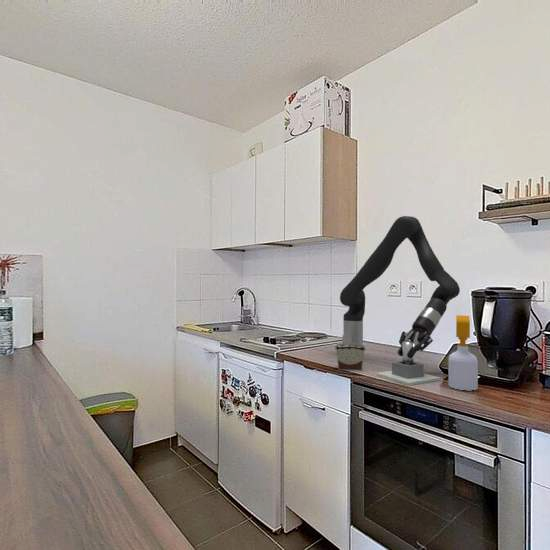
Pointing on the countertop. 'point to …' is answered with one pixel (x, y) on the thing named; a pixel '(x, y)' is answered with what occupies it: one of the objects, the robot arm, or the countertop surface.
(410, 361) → the steel tube
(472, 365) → the soap bottle
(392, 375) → the plate
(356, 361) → the food container
